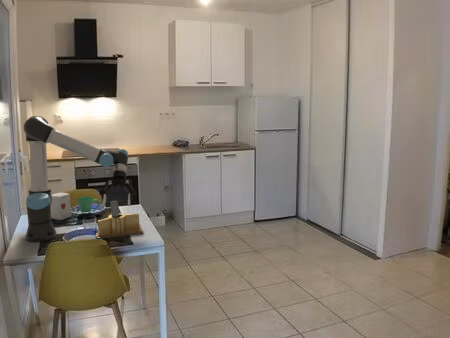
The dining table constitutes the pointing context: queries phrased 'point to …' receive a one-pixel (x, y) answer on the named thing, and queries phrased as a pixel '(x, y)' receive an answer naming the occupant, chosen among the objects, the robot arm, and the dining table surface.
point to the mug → (86, 203)
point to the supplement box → (60, 206)
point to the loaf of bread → (119, 226)
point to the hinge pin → (114, 209)
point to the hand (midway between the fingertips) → (116, 205)
